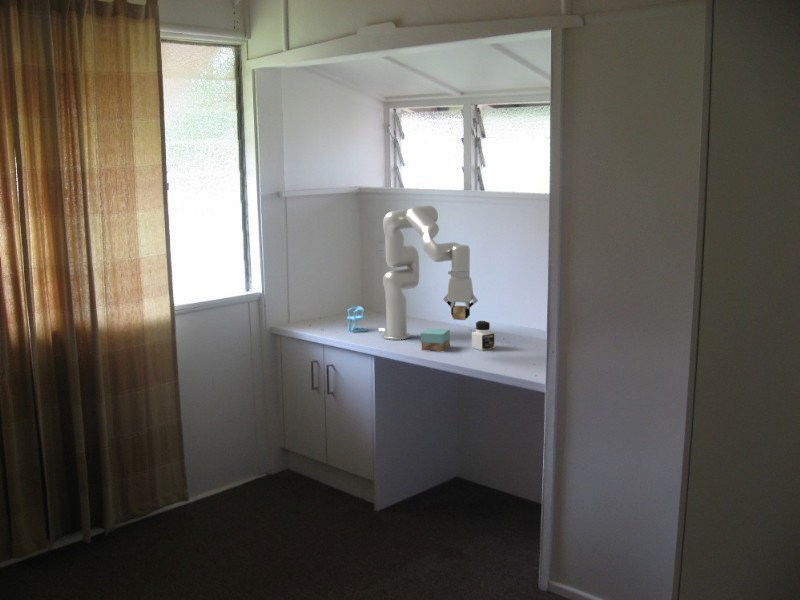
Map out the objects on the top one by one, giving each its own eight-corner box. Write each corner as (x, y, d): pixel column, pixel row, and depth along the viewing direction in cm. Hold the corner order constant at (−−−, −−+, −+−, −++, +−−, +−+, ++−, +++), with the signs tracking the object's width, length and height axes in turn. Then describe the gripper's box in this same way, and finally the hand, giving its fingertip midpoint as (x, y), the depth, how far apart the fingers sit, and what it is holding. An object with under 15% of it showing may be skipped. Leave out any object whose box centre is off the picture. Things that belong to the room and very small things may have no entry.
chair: (344, 331, 408) (343, 307, 406) (358, 328, 413) (357, 304, 411) (353, 333, 402) (352, 309, 400) (368, 330, 407) (367, 306, 405)
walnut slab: (421, 351, 365) (421, 342, 365) (428, 345, 375) (428, 337, 374) (443, 352, 362) (443, 343, 361) (449, 347, 371) (449, 338, 371)
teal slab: (420, 342, 365) (420, 333, 364) (428, 337, 374) (428, 328, 373) (442, 343, 361) (442, 334, 360) (449, 338, 370) (449, 329, 370)
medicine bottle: (482, 350, 361) (482, 323, 359) (471, 348, 367) (471, 321, 365) (494, 348, 366) (494, 321, 363) (483, 345, 371) (483, 319, 369)
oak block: (453, 319, 351) (453, 307, 350) (456, 316, 356) (456, 305, 355) (464, 320, 350) (464, 308, 349) (467, 317, 354) (467, 306, 353)
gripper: (438, 275, 348) (438, 317, 352) (478, 277, 343) (478, 320, 347) (443, 272, 355) (443, 314, 359) (482, 274, 350) (482, 316, 354)
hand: (460, 316), depth 353 cm, fingers closed on oak block, 4 cm apart
